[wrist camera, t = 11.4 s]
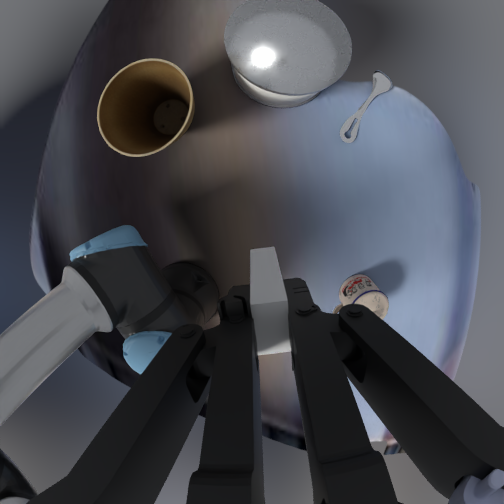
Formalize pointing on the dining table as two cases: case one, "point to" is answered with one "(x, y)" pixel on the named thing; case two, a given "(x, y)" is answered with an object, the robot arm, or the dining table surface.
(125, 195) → the dining table surface
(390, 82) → the stirrer
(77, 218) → the dining table surface
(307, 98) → the cooker pot
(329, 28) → the lid
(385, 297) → the teacup with lid
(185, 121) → the plant pot
